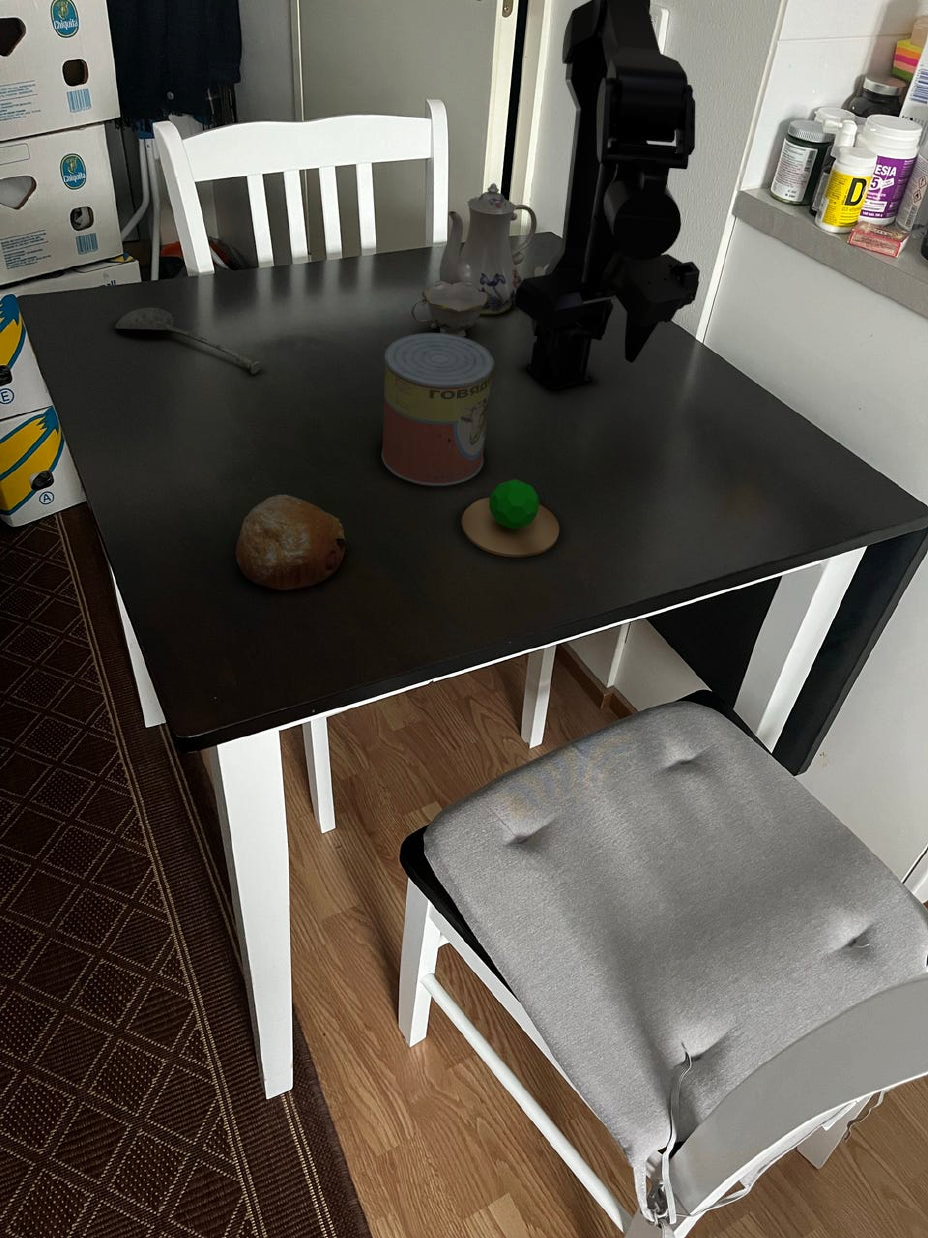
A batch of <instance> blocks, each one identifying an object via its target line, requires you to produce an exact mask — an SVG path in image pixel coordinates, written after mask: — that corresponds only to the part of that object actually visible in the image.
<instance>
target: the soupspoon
mask: <svg viewBox="0 0 928 1238" xmlns="http://www.w3.org/2000/svg"><path fill="white" fill-rule="evenodd" d="M174 321H175V320H174V317H173V315H172V314H171V313H170V312H169V311H166V310H164V309H161V308H158V307H142V308H138V309H135V310H132V311H130V312H127V313H126V314H125V315H123V316H122V317H121V318H120V319H119V320H118V321H117V322H116V323H115V326H114V329H115V330H116V329H117V330H154V331H167V332H171V333H175V334H177V335H181V336H184V337H187V338H190V339H191V340H194V341H197V342H200V343H202V344H204V345H206V346H209V347H212V348H213V349H216V350H218V351H220V352H221V353H222V352H223V353H225V354H227V355H228V356H231V357H233V358H235V360H236V362H240V363H241V364H242V365H243V366H245V367H247V369H248V370H249V371H250V374H251V375H256V374H257V373H259V371H260V370H261V368H262V363H261V362H260V361H254V360H251V359H249V358H248V357H246V356H243V354H242V353H237V352H235V351H233V350H231V349H229V348H227V347H225V346H223V345H221V344H218V343H216V342H214V341H212V340H209V339H207V338H205V337H202V336H199V335H198V334H195V333H193V332H191V331H188V330H185V329H182V328H179V327H176V326H174Z"/></svg>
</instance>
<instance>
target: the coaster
mask: <svg viewBox="0 0 928 1238" xmlns="http://www.w3.org/2000/svg"><path fill="white" fill-rule="evenodd" d="M490 497H491V496H487V497H484V498H481V499H478V500H476V501H475V502H473V503H471V504H470V505H469V506H468V507H467V508H466V509H465V510H464V512H463V514H462V518H461V528H462V529H461V530H462V532H463V534H464V535H465V537H466V538H467V539H468V540H469V541H470V542H471V543H472V544H473V545H474V546H476V547H477V548H479V549H480V550H483V551H485V552H486V553H490V554H492V555H496V556H498V557H499V556H500V557H505V558H517V559H518V558H529V557H534V556H537V555H540V554H543V553H545V552H546V551H549V549H551V548H552V547H553V546H554V545H555V544H556V542H557V541H558V539H559V533H560V525H559V522H558V520H557V518H556V517H555V515H554V514H553V513H552V512H551V511H550V510H549V509H548V508H547V507H545V506H543V505H542V504H540V503H539V510H538V513H537V515H536V517H535V518H534V520H533V521H532V522H531V523H530V524H529V525H527V526H524V527H522V528H518V529H514V530H513V529H510V528H508V527H506V526H503V525H501V524H499V523H497V522H496V520H495V519H494V517H493V515H492V513H491V511H490V509H489V502H490Z"/></svg>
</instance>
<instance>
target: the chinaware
mask: <svg viewBox="0 0 928 1238" xmlns="http://www.w3.org/2000/svg"><path fill="white" fill-rule="evenodd" d="M499 191H500V189H499V188H498V186H497V184H496V183H494V182H493V183H491V184H490V186H489V187H488V188H487V191H485V192H483V193H482V194H480V196H475V197H474V198H470V199H469V200H468V201H467V202H466V203H467V207H468V211H469V224H468V231H467V236H466V238H465V242H464V245H463V247H462V242H463V241H462V239H463V233H464V232H463V231H464V223H463V219H462V217H461V215H460V214H459V213H458V212H457V211H454V210H449V211H448V212H447V214H448V216H449V217H450V218H451V221H452V225H451V230H450V233H449V237H448V239H447V242H446V245H445V248H444V250H443V252H442V256H441V259H440V265H439V280H435V281H434V282H432V283H431V284H430V285H429V286H428V288H427V289H425V290H422V293H421V297H422V298H419V299H417V300H416V301H414V303H413V304H412V306H411V316H412V318H413V319H414V320H415V321H416V322H418V323H422V324H423V323H427V322H432V323H431V324H430V328H431V329H436V328H437V327H439V330H440V332H439V333H443V334H451V335H456V336H460V337H465V336H467V335H466V330H467V329H470V327H473V325H475V323H476V322H477V320H478V319H479V317H480V316H495V315H500V314H501V315H502V314H503V313H506V312H508V311H509V310H511V308H512V305H513V301H515V297H516V289H517V286H518V284H519V283H520V282H521V281H522V280H523V279H522V278H521V275H520V274H519V272H518V270H517V267H516V266H517V265H519V264H522V262H523V261H524V259H525V254H524V253H523V252H522V251H523V250H525V249H526V248H527V247H528V246H529V245H530V244H531V243H532V241H533V239H534V237H535V235H536V231H537V226H538V221H537V216H536V213H535V211H534V210H533V208H531V207H530V206H528V205H526V204H514V203H513V202H512V201H510V200H507V199H505V196H504V195H503V194H502V193H500V192H499ZM516 210H522V211H523V210H524V211H526V212H527V213H528V214H529V216H530V228H529V232H528V234H527V237H526V238H525V240H524V241H523V242H522V243H521V244H520V245H519V246H518V247H516V248H515V249H511V244H510V242H511V241H510V232H511V231H510V230H511V222H514V221H516V220H517V219H518V214H517V213H516V212H515V211H516ZM461 247H462V249H461ZM550 263H551V262H548V263H547V264H546V265H544V266H535V267H533V268H532V269H531V271H532V275H533V277H536V276H542V275H545V270H546V268H547V267H548V265H549V264H550ZM420 302H421V304H422V306H425V304H427V307H428V312H429V314H430V318H427V319H418V318H417V317H416V315H415V313H414V311H415V308H416V306H417V304H419V303H420Z"/></svg>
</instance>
